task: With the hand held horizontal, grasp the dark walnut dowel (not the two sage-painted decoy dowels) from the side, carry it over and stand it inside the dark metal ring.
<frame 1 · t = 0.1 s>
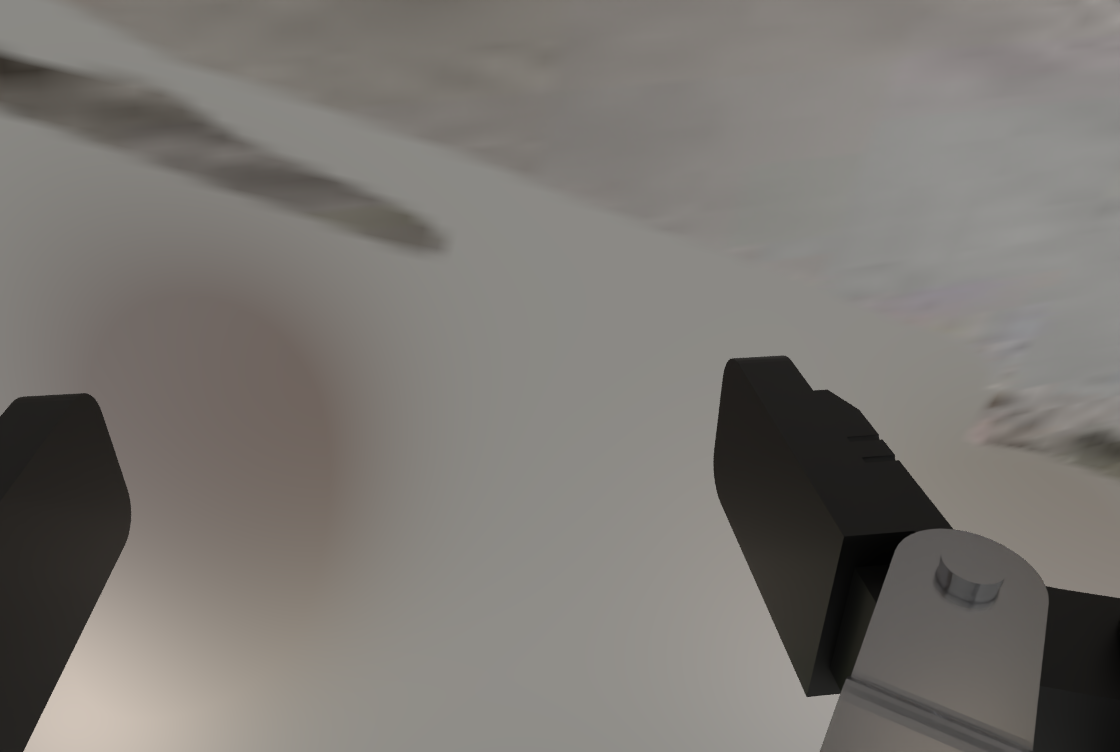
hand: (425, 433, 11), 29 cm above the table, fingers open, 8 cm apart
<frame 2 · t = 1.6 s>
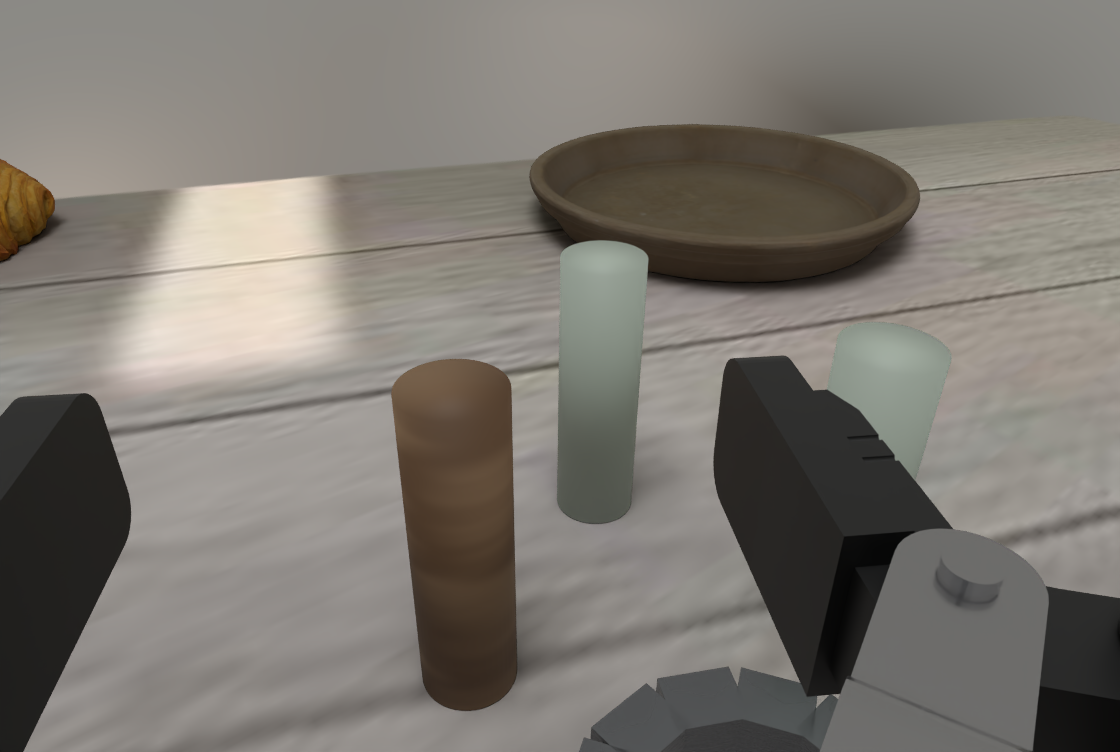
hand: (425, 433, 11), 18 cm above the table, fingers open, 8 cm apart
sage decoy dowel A: (594, 498, 38), on the table
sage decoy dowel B: (825, 615, 32), on the table
plant saucer: (713, 222, 70), on the table
walnut dowel: (470, 669, 30), on the table
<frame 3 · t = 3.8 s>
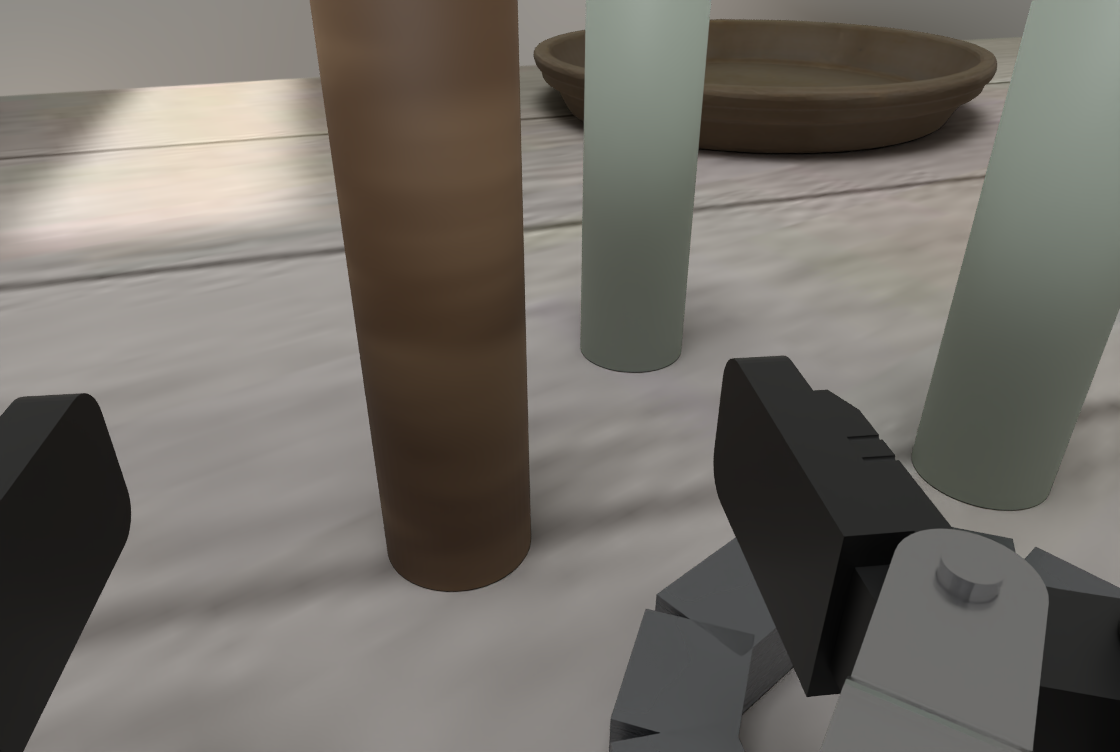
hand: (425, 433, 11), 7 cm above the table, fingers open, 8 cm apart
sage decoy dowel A: (630, 347, 28), on the table
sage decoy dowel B: (979, 469, 22), on the table
plant saucer: (747, 111, 60), on the table
walnut dowel: (459, 539, 20), on the table
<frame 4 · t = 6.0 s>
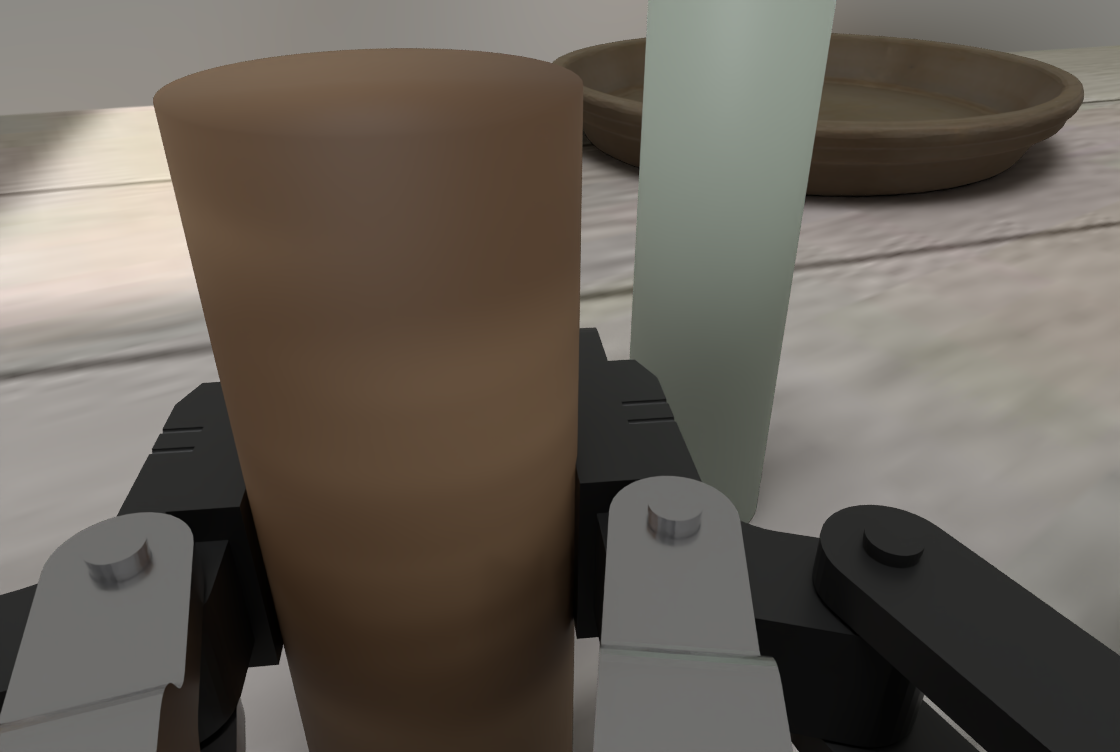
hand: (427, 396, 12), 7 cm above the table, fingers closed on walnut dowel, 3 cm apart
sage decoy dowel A: (689, 494, 21), on the table
plant saucer: (788, 139, 53), on the table
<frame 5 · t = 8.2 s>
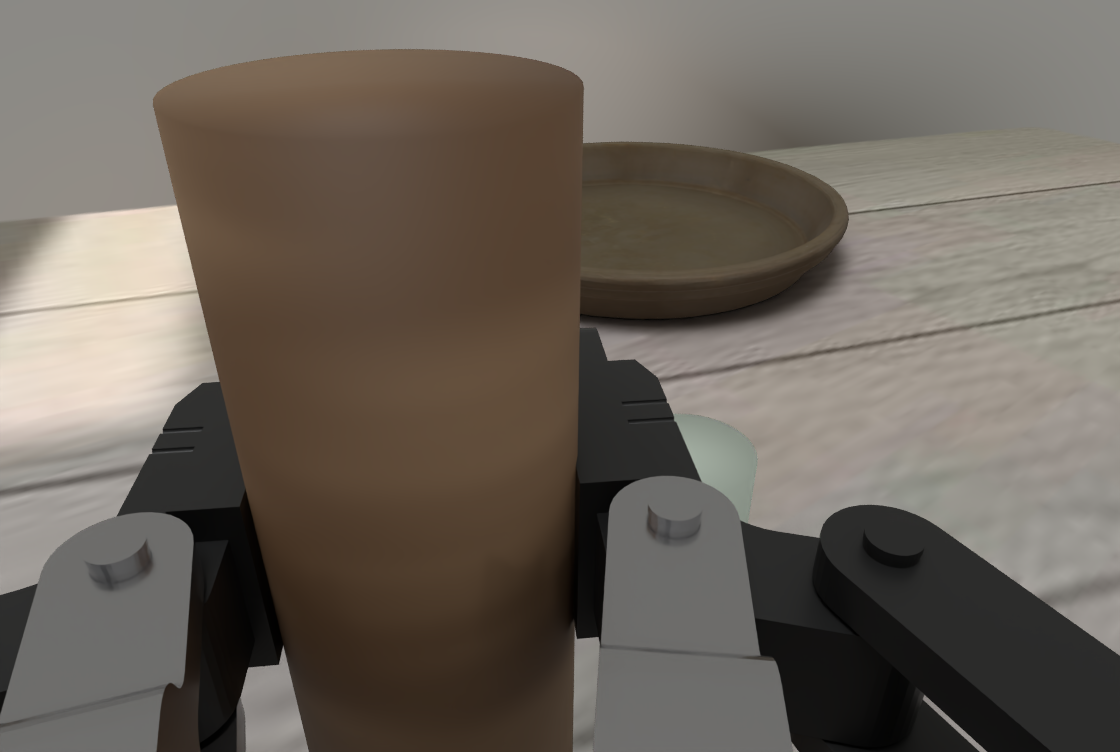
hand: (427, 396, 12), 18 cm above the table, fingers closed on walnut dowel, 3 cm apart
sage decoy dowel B: (656, 751, 27), on the table
plant saucer: (632, 249, 65), on the table
when the fingers open (8 cm above the table, at t = 10.3 s): walnut dowel stays where it is, on the table.
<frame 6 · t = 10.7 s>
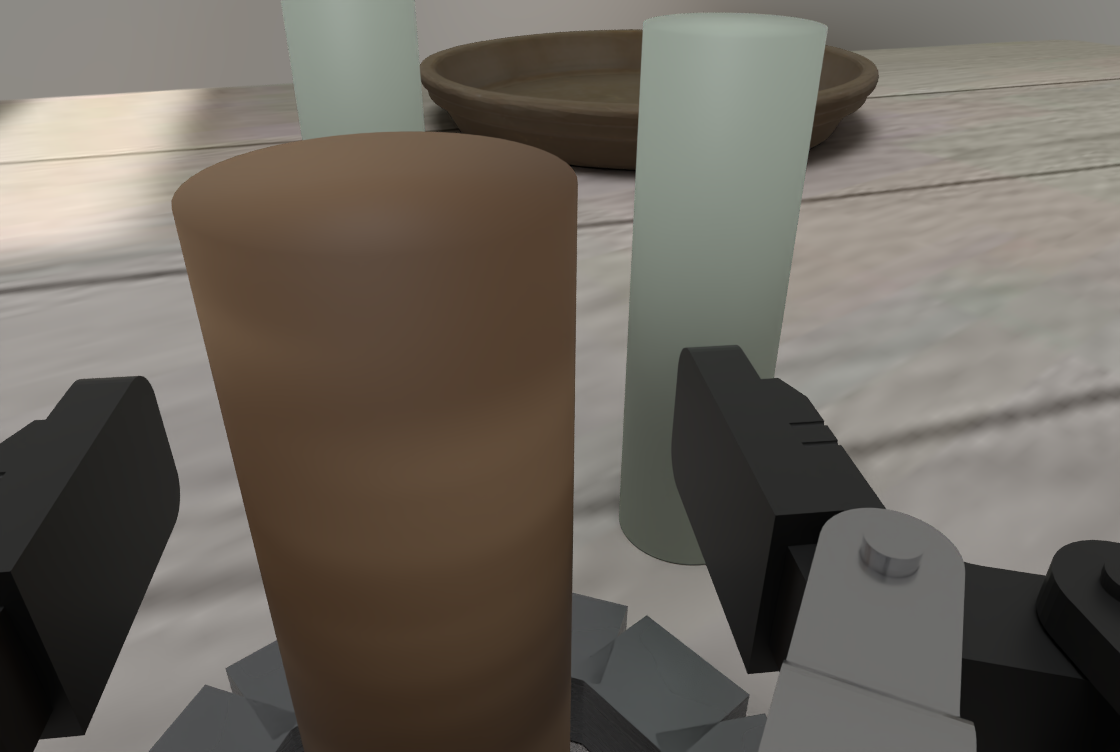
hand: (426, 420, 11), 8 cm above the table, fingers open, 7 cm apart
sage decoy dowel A: (393, 382, 28), on the table
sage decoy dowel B: (684, 518, 22), on the table
plant saucer: (640, 124, 60), on the table
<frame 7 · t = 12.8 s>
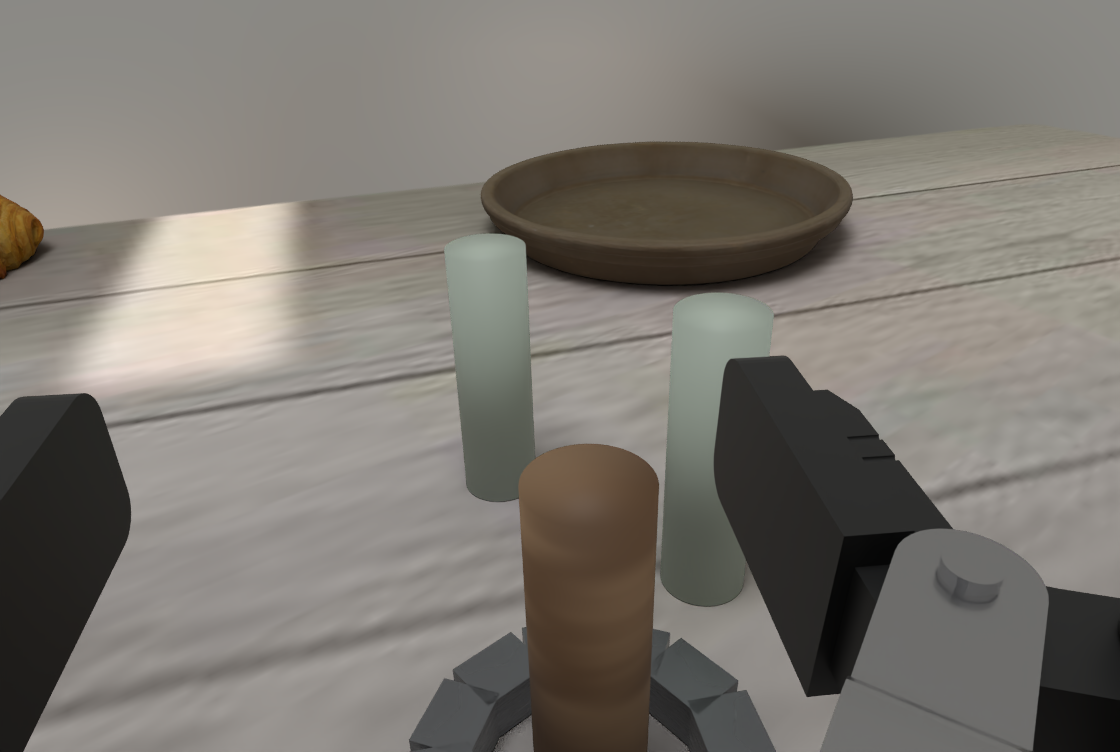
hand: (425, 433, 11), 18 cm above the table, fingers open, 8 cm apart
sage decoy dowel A: (501, 480, 40), on the table
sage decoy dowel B: (701, 576, 34), on the table
plant saucer: (660, 232, 73), on the table
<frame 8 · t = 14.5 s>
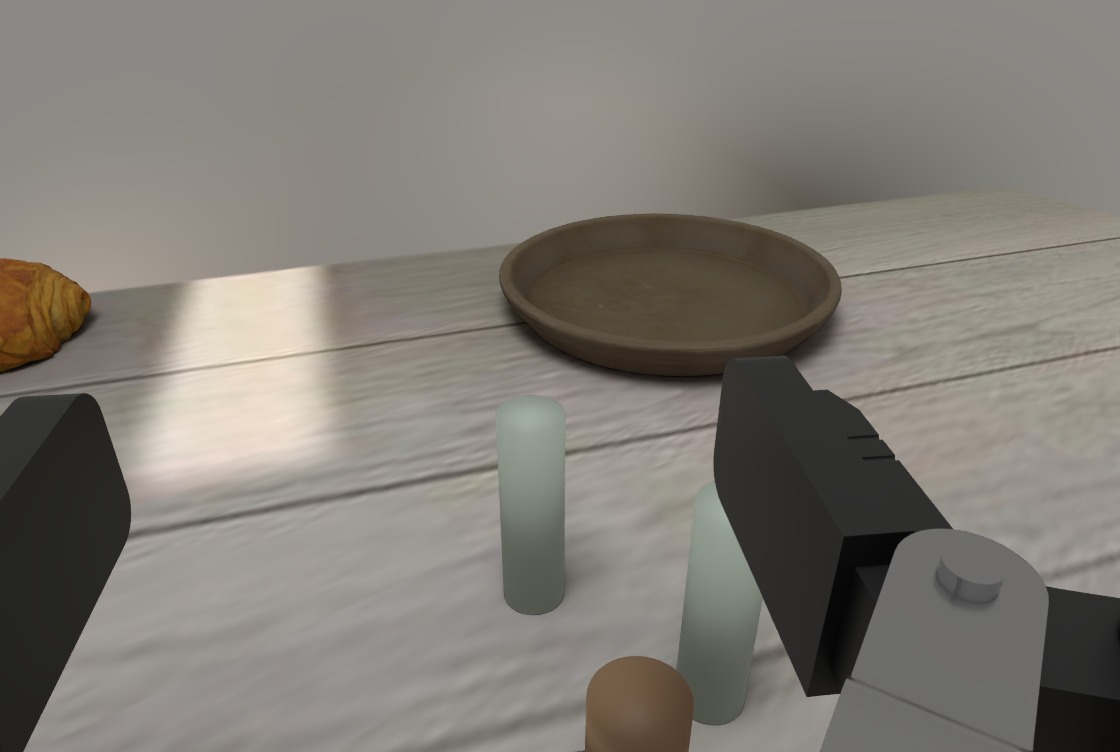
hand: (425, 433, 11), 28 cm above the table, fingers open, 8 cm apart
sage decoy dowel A: (534, 592, 47), on the table
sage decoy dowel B: (709, 694, 41), on the table
plant saucer: (664, 311, 79), on the table
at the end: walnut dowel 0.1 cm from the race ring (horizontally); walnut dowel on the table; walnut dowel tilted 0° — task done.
